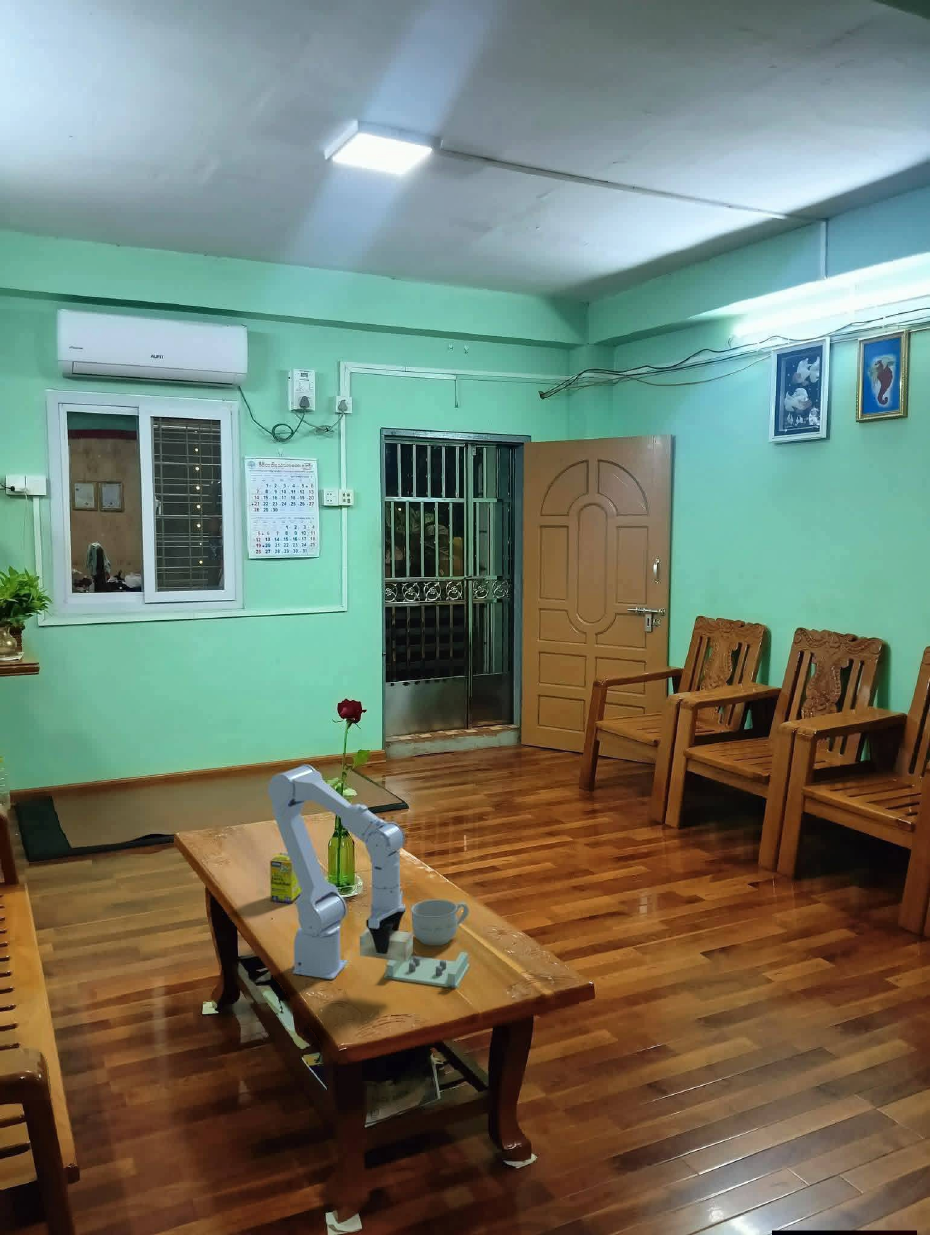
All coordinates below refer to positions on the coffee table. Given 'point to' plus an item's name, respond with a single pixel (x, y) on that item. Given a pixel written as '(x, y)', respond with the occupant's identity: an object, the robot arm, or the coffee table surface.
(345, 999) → the coffee table surface
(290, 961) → the coffee table surface
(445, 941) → the teacup
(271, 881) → the supplement box
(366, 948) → the shelf block
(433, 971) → the peg frame
